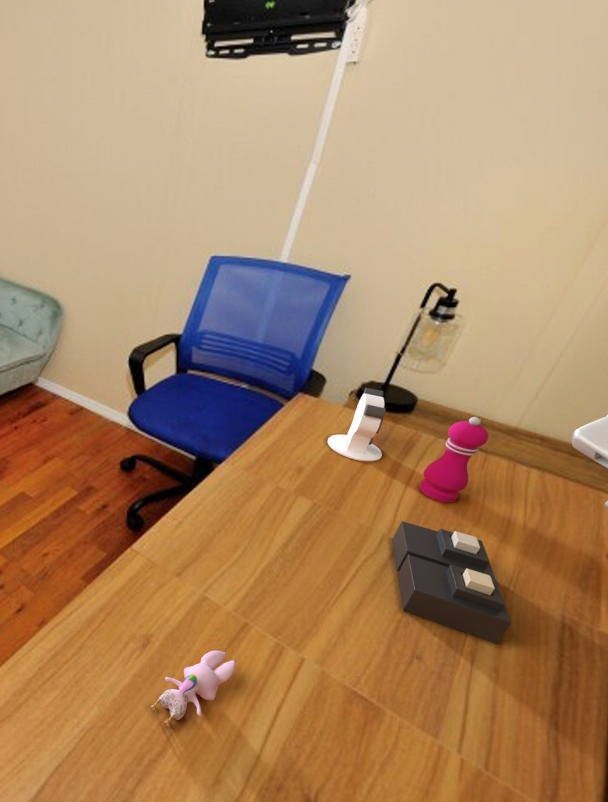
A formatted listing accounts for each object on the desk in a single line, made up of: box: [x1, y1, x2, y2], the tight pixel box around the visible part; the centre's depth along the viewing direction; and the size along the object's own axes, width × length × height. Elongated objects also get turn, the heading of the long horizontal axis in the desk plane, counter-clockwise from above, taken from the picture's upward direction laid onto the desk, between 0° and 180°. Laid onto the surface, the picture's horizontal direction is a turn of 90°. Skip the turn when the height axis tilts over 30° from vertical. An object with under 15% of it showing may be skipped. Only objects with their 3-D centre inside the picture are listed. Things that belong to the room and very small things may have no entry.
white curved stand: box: [327, 387, 387, 463], centre depth 125 cm, size 12×11×15 cm
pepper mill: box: [419, 416, 489, 503], centre depth 109 cm, size 7×7×20 cm
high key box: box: [397, 555, 512, 645], centre depth 86 cm, size 12×9×7 cm
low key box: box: [391, 520, 496, 579], centre depth 93 cm, size 12×9×7 cm
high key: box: [462, 568, 495, 595], centre depth 83 cm, size 3×3×2 cm
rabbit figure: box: [150, 650, 236, 728], centre depth 74 cm, size 6×6×15 cm
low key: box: [451, 530, 480, 554], centre depth 90 cm, size 3×3×2 cm
